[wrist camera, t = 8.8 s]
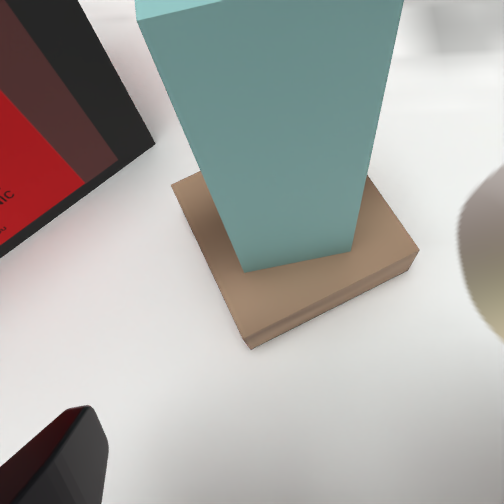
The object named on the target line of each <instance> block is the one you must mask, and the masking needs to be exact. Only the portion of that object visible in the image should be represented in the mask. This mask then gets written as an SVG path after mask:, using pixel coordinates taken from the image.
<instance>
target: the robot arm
mask: <svg viewBox="0 0 504 504" xmlns="http://www.w3.org/2000/svg"><path fill="white" fill-rule="evenodd" d="M108 453H109V447H108V441H107V437H106V435H105V433H104V431H103V428H102V426H101V424H100V421H99V419H98V417H97V415H96V412H95V410H94V409H93V408H92V407H91V406H89V405H84V406H79V407H74V408H69V409H67V410H65V411H64V412H63V413H61V414H60V415H59V416H58V417H57V418H56V419H55V420H53V421H52V422H51V423H50V424H49V425H48V426H47V427H45V428H44V429H43V430H42V431H41V432H40V433H39V434H37V435H36V436H35V437H34V438H33V439H32V440H31V441H29V442H28V443H27V444H26V445H25V446H24V447H23V448H21V449H20V450H19V451H18V452H17V453H16V454H15V455H13V456H12V457H11V458H10V459H9V460H8V461H7V462H5V463H4V464H3V465H2V466H1V467H0V504H101V503H102V496H103V489H104V482H105V475H106V468H107V460H108Z"/></svg>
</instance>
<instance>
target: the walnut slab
mask: <svg viewBox="0 0 504 504" xmlns="http://www.w3.org/2000/svg"><path fill="white" fill-rule="evenodd" d="M171 187H172V189H173V191H174V193H175V195H176V197H177V199H178V202H179V204H180V206H181V208H182V210H183V212H184V214H185V217H186V219H187V221H188V223H189V225H190V227H191V229H192V231H193V234H194V236H195V238H196V240H197V242H198V244H199V246H200V249H201V251H202V253H203V255H204V257H205V259H206V261H207V263H208V266H209V268H210V270H211V272H212V274H213V276H214V278H215V281H216V283H217V285H218V287H219V289H220V291H221V293H222V296H223V298H224V300H225V302H226V304H227V306H228V308H229V310H230V313H231V315H232V317H233V319H234V321H235V323H236V325H237V328H238V330H239V332H240V334H241V336H242V338H243V340H244V341H245V342H246V344H247V345H248V347H249V348H250V349H253V348H255V347H257V346H259V345H261V344H263V343H265V342H267V341H269V340H271V339H273V338H275V337H277V336H279V335H281V334H283V333H285V332H287V331H289V330H291V329H293V328H295V327H297V326H299V325H301V324H302V323H304V322H306V321H308V320H310V319H312V318H314V317H316V316H318V315H320V314H322V313H324V312H326V311H328V310H330V309H332V308H334V307H336V306H338V305H340V304H342V303H344V302H346V301H348V300H350V299H352V298H354V297H356V296H358V295H360V294H362V293H364V292H366V291H368V290H370V289H372V288H374V287H376V286H378V285H380V284H382V283H384V282H386V281H388V280H390V279H392V278H394V277H396V276H398V275H400V274H402V273H404V272H406V271H408V269H409V267H410V266H411V264H412V262H413V260H414V259H415V257H416V255H417V254H418V252H419V248H418V247H417V245H416V244H415V243H414V241H413V240H412V238H411V237H410V235H409V234H408V233H407V231H406V230H405V228H404V227H403V225H402V224H401V222H400V221H399V220H398V218H397V217H396V215H395V214H394V212H393V211H392V210H391V208H390V207H389V205H388V204H387V202H386V201H385V200H384V198H383V197H382V195H381V194H380V192H379V191H378V190H377V188H376V187H375V185H374V184H373V182H372V181H371V180H370V178H369V177H368V175H367V177H366V181H365V186H364V191H363V195H362V200H361V205H360V210H359V214H358V219H357V224H356V228H355V233H354V238H353V243H352V247H351V251H350V252H345V253H340V254H335V255H330V256H326V257H321V258H316V259H311V260H306V261H301V262H296V263H291V264H286V265H281V266H276V267H271V268H266V269H261V270H256V271H251V272H246V273H244V271H243V269H242V267H241V264H240V262H239V259H238V257H237V255H236V252H235V250H234V248H233V245H232V243H231V241H230V238H229V236H228V234H227V231H226V229H225V227H224V224H223V222H222V220H221V217H220V215H219V213H218V210H217V208H216V206H215V203H214V201H213V199H212V196H211V194H210V192H209V189H208V187H207V185H206V182H205V180H204V177H203V175H202V173H201V171H199V172H197V173H195V174H193V175H191V176H189V177H187V178H185V179H183V180H180V181H178V182H176V183H174V184H172V185H171Z"/></svg>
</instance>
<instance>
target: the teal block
mask: <svg viewBox="0 0 504 504" xmlns="http://www.w3.org/2000/svg"><path fill="white" fill-rule="evenodd" d="M403 2H404V0H135V9H136V19H137V23H138V25H139V28H140V30H141V32H142V35H143V37H144V39H145V42H146V44H147V46H148V49H149V51H150V53H151V56H152V58H153V60H154V63H155V65H156V67H157V70H158V72H159V74H160V77H161V79H162V81H163V84H164V86H165V88H166V91H167V93H168V95H169V98H170V100H171V103H172V105H173V107H174V110H175V112H176V114H177V117H178V119H179V121H180V124H181V126H182V128H183V131H184V133H185V135H186V138H187V140H188V142H189V145H190V147H191V149H192V152H193V154H194V156H195V159H196V161H197V163H198V166H199V168H200V170H201V173H202V175H203V177H204V180H205V182H206V185H207V187H208V189H209V192H210V194H211V196H212V199H213V201H214V203H215V206H216V208H217V210H218V213H219V215H220V217H221V220H222V222H223V224H224V227H225V229H226V231H227V234H228V236H229V238H230V241H231V243H232V245H233V248H234V250H235V252H236V255H237V257H238V259H239V262H240V264H241V267H242V269H243V271H244V273H246V272H251V271H256V270H261V269H266V268H271V267H276V266H281V265H286V264H291V263H296V262H301V261H306V260H311V259H316V258H321V257H326V256H330V255H335V254H340V253H345V252H350V251H351V247H352V243H353V238H354V233H355V228H356V224H357V219H358V214H359V210H360V205H361V200H362V195H363V191H364V186H365V181H366V177H367V172H368V167H369V162H370V158H371V153H372V148H373V144H374V139H375V134H376V129H377V125H378V120H379V115H380V110H381V106H382V101H383V96H384V92H385V87H386V82H387V77H388V73H389V68H390V63H391V59H392V54H393V49H394V44H395V40H396V35H397V30H398V26H399V21H400V16H401V11H402V7H403Z"/></svg>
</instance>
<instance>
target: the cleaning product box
mask: <svg viewBox="0 0 504 504" xmlns="http://www.w3.org/2000/svg"><path fill="white" fill-rule="evenodd" d="M153 145H155V142H154V140H153V138H152V136H151V135H150V133H149V131H148V129H147V127H146V125H145V123H144V122H143V120H142V118H141V116H140V114H139V112H138V111H137V109H136V107H135V105H134V103H133V101H132V100H131V98H130V96H129V94H128V92H127V90H126V88H125V87H124V85H123V83H122V81H121V79H120V77H119V76H118V74H117V72H116V70H115V68H114V66H113V65H112V63H111V61H110V59H109V57H108V55H107V53H106V52H105V50H104V48H103V46H102V44H101V42H100V41H99V39H98V37H97V35H96V33H95V31H94V30H93V28H92V26H91V24H90V22H89V20H88V18H87V17H86V15H85V13H84V11H83V9H82V7H81V6H80V4H79V2H78V0H0V258H1V257H3V256H4V255H5V254H7V253H8V252H9V251H11V250H12V249H14V248H15V247H16V246H18V245H19V244H20V243H22V242H23V241H24V240H26V239H27V238H28V237H30V236H31V235H33V234H34V233H35V232H37V231H38V230H39V229H41V228H42V227H43V226H45V225H46V224H48V223H49V222H50V221H52V220H53V219H54V218H56V217H57V216H58V215H60V214H61V213H62V212H64V211H65V210H67V209H68V208H69V207H71V206H72V205H73V204H75V203H76V202H77V201H79V200H80V199H81V198H83V197H84V196H86V195H87V194H88V193H90V192H91V191H92V190H94V189H95V188H96V187H98V186H99V185H100V184H102V183H103V182H105V181H106V180H107V179H109V178H110V177H111V176H113V175H114V174H115V173H117V172H118V171H120V170H121V169H122V168H124V167H125V166H126V165H128V164H129V163H130V162H132V161H133V160H134V159H136V158H137V157H139V156H140V155H141V154H143V153H144V152H145V151H147V150H148V149H149V148H151V147H152V146H153Z"/></svg>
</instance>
